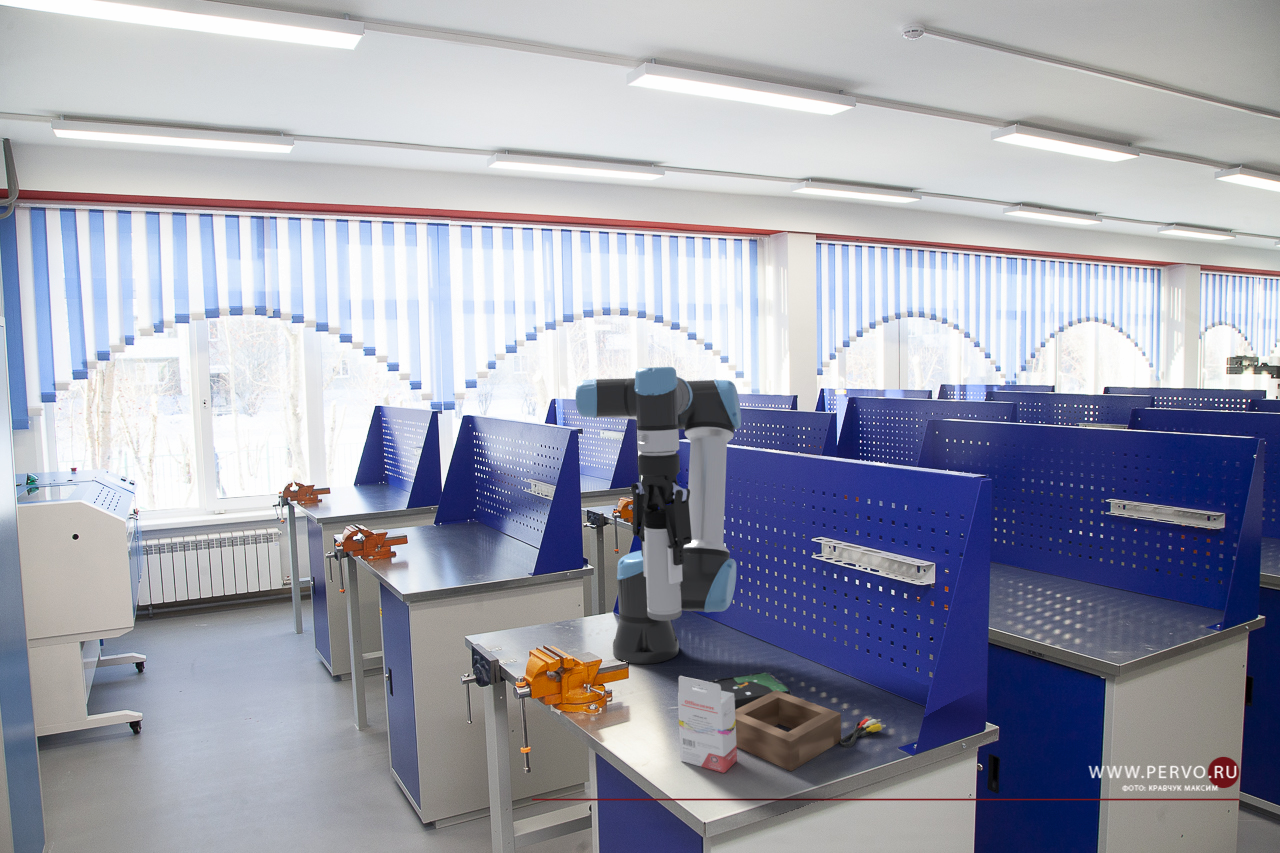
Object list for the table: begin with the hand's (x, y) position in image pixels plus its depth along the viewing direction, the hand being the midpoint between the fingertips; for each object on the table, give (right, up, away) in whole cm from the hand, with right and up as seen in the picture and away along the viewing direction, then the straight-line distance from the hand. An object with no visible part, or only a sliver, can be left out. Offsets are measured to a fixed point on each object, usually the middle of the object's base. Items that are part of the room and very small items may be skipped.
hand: (662, 578), depth 144 cm
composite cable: (+34, -27, -6) cm, 44 cm away
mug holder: (+21, -27, -7) cm, 35 cm away
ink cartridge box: (+7, -28, -12) cm, 32 cm away
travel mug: (0, -7, +1) cm, 7 cm away
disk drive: (+17, -26, +12) cm, 34 cm away
